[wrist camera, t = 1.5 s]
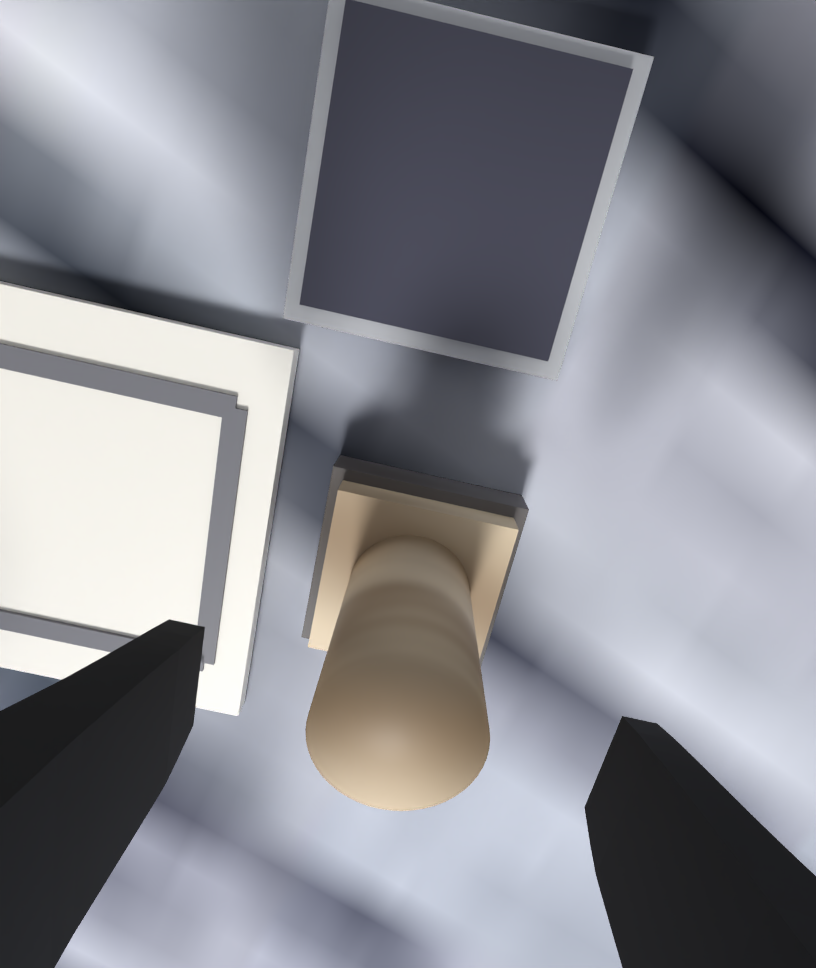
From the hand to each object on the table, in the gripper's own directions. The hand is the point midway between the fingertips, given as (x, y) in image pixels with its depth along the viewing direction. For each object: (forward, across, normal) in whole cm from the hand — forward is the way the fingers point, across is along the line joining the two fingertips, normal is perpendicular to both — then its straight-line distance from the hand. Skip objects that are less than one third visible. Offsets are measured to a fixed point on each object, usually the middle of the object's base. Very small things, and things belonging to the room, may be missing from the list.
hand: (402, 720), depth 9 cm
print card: (+6, +9, +1) cm, 11 cm away
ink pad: (+6, +1, -9) cm, 11 cm away
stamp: (+7, 0, 0) cm, 7 cm away
